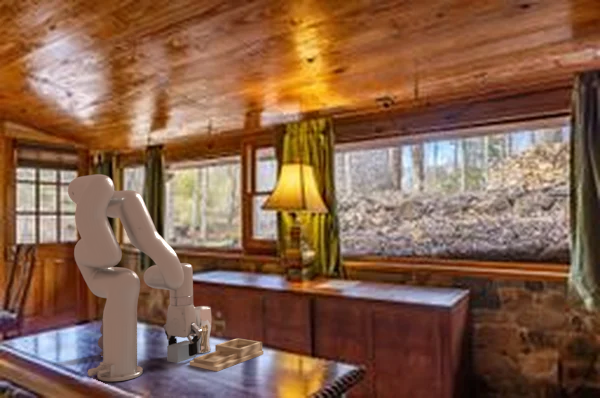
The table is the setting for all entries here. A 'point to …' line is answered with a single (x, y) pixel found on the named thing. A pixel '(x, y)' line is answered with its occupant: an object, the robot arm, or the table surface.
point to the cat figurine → (101, 339)
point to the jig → (229, 354)
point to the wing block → (178, 352)
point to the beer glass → (203, 328)
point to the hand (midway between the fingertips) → (182, 353)
